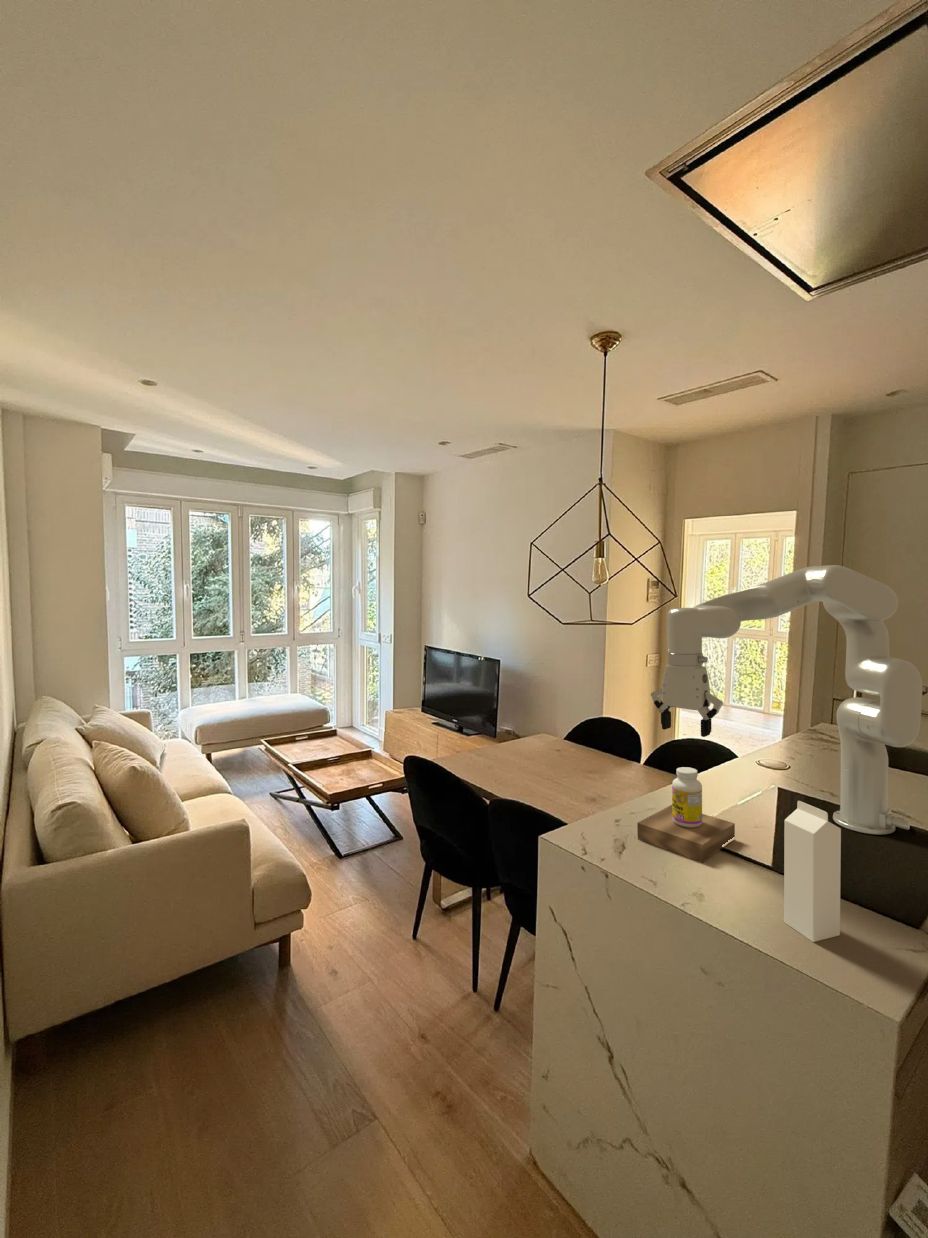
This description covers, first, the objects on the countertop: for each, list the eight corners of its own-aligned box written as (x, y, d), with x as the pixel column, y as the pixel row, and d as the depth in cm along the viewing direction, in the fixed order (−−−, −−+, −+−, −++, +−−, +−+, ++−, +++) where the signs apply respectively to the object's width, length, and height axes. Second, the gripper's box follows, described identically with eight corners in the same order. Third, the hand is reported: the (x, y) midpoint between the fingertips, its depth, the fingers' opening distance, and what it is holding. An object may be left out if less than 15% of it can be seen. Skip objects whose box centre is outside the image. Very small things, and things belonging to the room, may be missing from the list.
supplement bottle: (667, 817, 135) (667, 766, 135) (693, 816, 136) (693, 764, 135) (680, 829, 129) (679, 775, 128) (707, 828, 129) (707, 773, 129)
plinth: (734, 839, 132) (734, 823, 131) (702, 862, 121) (702, 845, 121) (671, 819, 144) (671, 804, 144) (637, 839, 133) (637, 822, 133)
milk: (813, 943, 93) (813, 815, 92) (783, 922, 99) (783, 802, 98) (840, 935, 95) (841, 810, 94) (809, 915, 101) (810, 797, 100)
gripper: (729, 661, 126) (729, 735, 127) (659, 656, 139) (660, 723, 140) (713, 665, 121) (714, 742, 122) (643, 659, 134) (644, 728, 135)
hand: (685, 732), depth 131 cm, fingers open, 9 cm apart
